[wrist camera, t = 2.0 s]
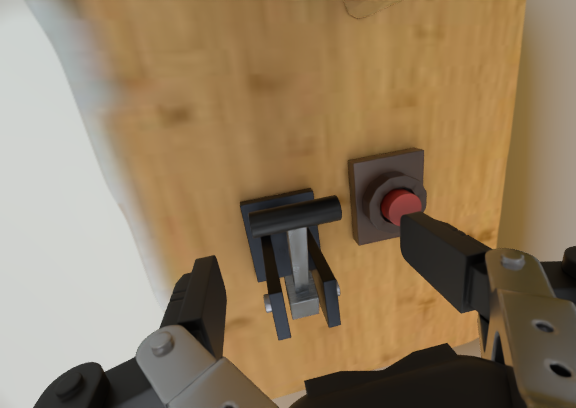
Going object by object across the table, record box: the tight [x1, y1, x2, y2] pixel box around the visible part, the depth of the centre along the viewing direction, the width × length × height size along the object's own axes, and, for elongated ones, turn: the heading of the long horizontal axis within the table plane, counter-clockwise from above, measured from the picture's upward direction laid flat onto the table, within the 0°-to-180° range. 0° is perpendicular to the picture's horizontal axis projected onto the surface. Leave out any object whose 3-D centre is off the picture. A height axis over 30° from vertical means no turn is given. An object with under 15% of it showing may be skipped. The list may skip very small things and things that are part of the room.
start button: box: [381, 189, 422, 226], centre depth 29 cm, size 4×4×2 cm
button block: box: [348, 148, 427, 246], centre depth 31 cm, size 10×8×4 cm
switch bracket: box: [240, 188, 341, 340], centre depth 26 cm, size 10×8×13 cm
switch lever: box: [248, 195, 342, 320], centre depth 19 cm, size 12×5×2 cm, turn 9°
